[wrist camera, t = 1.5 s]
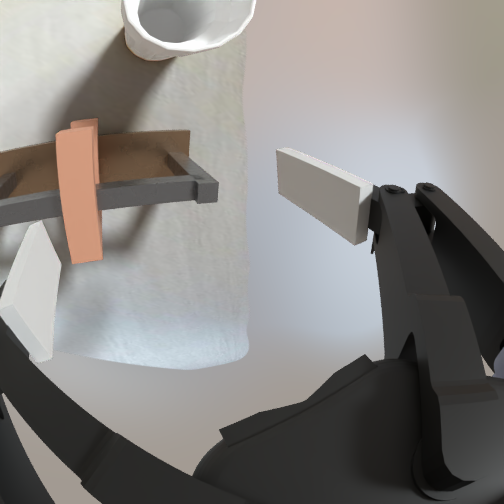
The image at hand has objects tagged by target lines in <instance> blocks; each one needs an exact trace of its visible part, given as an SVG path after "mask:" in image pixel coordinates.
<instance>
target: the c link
mask: <svg viewBox="0 0 504 504" xmlns="http://www.w3.org/2000/svg"><path fill="white" fill-rule="evenodd" d="M56 154H57V168H58V179H59V188H60V197H61V204H62V211H63V218H64V224H65V230H66V236H67V241H68V246H69V251H70V256H71V260H72V264H76V263H83V262H90V261H96V260H103V250H102V210H100V211H98V207H97V196H96V184H98V183H100V180H99V160H98V118H92V119H84V120H76V121H73V122H71V129H68V130H61V131H59V132H58V133H57V134H56Z"/></svg>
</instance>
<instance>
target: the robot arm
mask: <svg viewBox="0 0 504 504" xmlns="http://www.w3.org/2000/svg"><path fill="white" fill-rule="evenodd" d="M276 155H277V172H278V191H279V194H280V195H282V196H284V197H285V198H287V199H288V200H290V201H291V202H293V203H294V204H296V205H297V206H299V207H300V208H302V209H303V210H305V211H306V212H307V213H309V214H310V215H312V216H313V217H315V218H316V219H318V220H319V221H321V222H322V223H323V224H325V225H326V226H328V227H329V228H331V229H332V230H333V231H335V232H336V233H338V234H339V235H341V236H342V237H343V238H345V239H346V240H348V241H349V242H350V243H352V244H353V245H357V244H359V243H362V242H364V241H366V240H367V234H368V228H369V229H371V230H372V231H374V236H373V243H372V249H371V254H373V252H374V251H375V255H376V263H377V270H378V278H379V287H380V297H381V307H382V317H383V318H382V319H383V331H384V348H385V358H384V360H379V361H374V362H372V361H371V360H370V359H369V358H368V357H367V356H366V355H365V354H364V355H363V356H361V357H360V358H358V359H356V360H355V361H353V362H352V363H350V364H348V365H347V366H345V367H343V368H342V369H340V370H338V371H337V372H335V373H334V374H333V375H332V376H331V377H330V378H329V379H328V380H327V381H326V382H325V383H324V384H323V385H322V386H321V387H320V388H319V389H318V390H317V391H316V392H315V393H314V394H312V395H311V396H310V397H309V398H308V399H307V400H305V401H303V402H300V403H297V404H293V405H289V406H285V407H281V408H277V409H272V410H268V411H263V412H259V413H257V414H254V415H252V416H250V417H248V418H245V419H243V420H241V421H238V422H236V423H234V424H231V425H229V426H227V427H224V428H222V429H219V431H220V433H221V435H222V437H223V440H221V441H220V442H219V443H217V444H216V445H215V446H214V447H213V448H212V449H210V450H209V451H208V452H207V453H206V455H205V456H204V457H203V458H202V459H201V461H200V462H199V464H198V466H197V467H196V469H195V471H194V473H193V476H190V475H188V474H186V473H184V472H182V471H180V470H178V469H176V468H174V467H173V466H171V465H169V464H167V463H165V462H164V461H162V460H160V459H158V458H157V457H155V456H153V455H151V454H150V453H148V452H146V451H145V450H143V449H141V448H140V447H138V446H137V445H135V444H133V443H132V442H130V441H129V440H127V439H126V438H124V437H123V436H121V435H120V434H118V433H115V432H113V431H112V430H110V429H109V428H108V427H106V426H105V425H104V424H102V423H101V422H99V421H98V420H97V419H95V418H94V417H93V416H92V415H90V414H89V413H88V412H86V411H85V410H84V409H83V408H82V407H80V406H79V405H78V404H77V403H75V402H74V401H73V400H72V399H71V398H70V397H68V396H67V395H66V394H65V393H63V391H62V390H60V389H59V388H58V387H57V386H56V385H55V384H54V383H53V382H52V381H50V380H49V379H48V378H47V377H46V376H45V375H44V374H43V373H42V372H41V371H40V370H39V369H38V368H37V367H36V366H35V365H34V364H33V363H32V362H31V361H30V360H29V354H30V355H31V356H32V358H33V359H34V360H35V361H36V362H37V363H41V362H44V361H47V360H50V359H52V358H53V337H54V322H55V311H56V301H57V293H58V285H59V278H60V271H61V265H62V264H61V262H60V260H59V258H58V256H57V254H56V252H55V250H54V247H53V245H52V243H51V241H50V238H49V236H48V234H47V231H46V229H45V227H44V224H43V222H42V220H41V221H38V222H36V223H34V224H31V225H30V226H29V228H28V230H27V232H26V234H25V237H24V239H23V241H22V243H21V246H20V248H19V250H18V253H17V255H16V258H15V260H14V262H13V265H12V268H11V270H10V273H9V276H8V278H7V280H5V282H4V283H3V284H2V286H1V287H0V504H55V503H54V501H53V500H52V498H51V496H50V495H49V493H48V492H47V490H46V489H45V487H44V485H43V483H42V482H41V480H40V478H39V477H38V475H37V473H36V471H35V469H34V468H33V466H32V464H31V462H30V460H29V458H28V456H27V454H26V452H25V450H24V448H23V446H22V444H21V442H20V439H19V437H18V435H17V433H16V430H15V428H14V426H13V423H12V421H11V419H10V416H9V413H8V411H7V408H6V405H5V403H4V400H3V397H2V393H4V394H5V395H6V397H7V398H8V399H9V401H10V402H11V403H12V405H13V406H14V407H15V409H16V410H17V411H18V413H19V414H20V415H21V416H22V417H23V419H24V420H25V421H26V423H27V424H28V425H29V426H30V427H31V428H32V430H33V431H34V432H35V433H36V434H37V435H38V437H39V438H40V439H41V440H42V441H43V442H44V443H45V444H46V445H47V446H48V447H49V449H51V451H52V452H54V454H55V455H56V456H57V457H58V458H59V459H60V460H61V461H62V462H63V463H64V464H65V465H67V467H69V468H70V469H71V470H72V471H73V472H74V473H75V474H76V475H77V476H78V477H79V478H80V479H81V480H82V482H81V485H82V486H83V488H85V489H86V490H87V491H88V492H89V493H90V494H91V495H92V496H93V497H95V498H96V499H97V500H98V501H100V502H101V503H102V504H504V251H503V250H502V249H501V248H500V247H499V245H498V244H497V243H496V242H495V241H494V240H493V239H492V238H491V237H490V236H489V235H488V234H487V233H486V232H485V231H484V230H483V229H482V228H481V227H480V226H479V225H478V224H477V223H476V222H475V221H474V220H473V219H472V218H471V217H470V216H469V215H468V214H467V213H466V212H465V211H464V210H463V209H462V208H461V207H460V206H459V205H458V204H457V203H455V202H454V201H453V200H452V199H451V198H450V197H449V196H448V195H447V194H445V193H444V192H443V191H442V190H441V189H440V188H438V187H437V186H434V185H433V184H431V183H418V184H417V185H416V191H415V193H411V194H408V193H407V191H406V190H405V189H404V188H401V187H398V186H396V185H384V186H381V187H380V188H379V187H377V186H375V185H373V184H372V183H370V182H368V181H366V180H364V179H362V178H359V177H357V176H355V175H353V174H351V173H349V172H346V171H344V170H342V169H339V168H337V167H335V166H333V165H330V164H328V163H325V162H323V161H321V160H319V159H316V158H313V157H311V156H309V155H306V154H304V153H301V152H299V151H296V150H294V149H291V148H288V147H286V148H281V149H276ZM435 221H436V227H435V230H434V225H435ZM481 355H482V357H483V358H484V360H485V361H486V363H487V364H488V366H489V367H490V368H491V369H492V371H493V372H494V375H493V376H492V377H491V376H486V374H485V370H484V365H483V361H482V357H481Z"/></svg>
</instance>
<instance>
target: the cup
mask: <svg viewBox="0 0 504 504" xmlns="http://www.w3.org/2000/svg"><path fill="white" fill-rule="evenodd" d="M255 3H256V0H122V2H121V13H122V18H123V22H124V27H125V34H124V36H125V41H126V45H127V47H128V48H129V50H130V51H131V52H132V53H133V54H134V55H136V56H138V57H139V58H141V59H144V60H146V61H161V60H165V59H169V58H172V57H174V56H179V57H182V56H186V55H191V54H195V53H199V52H204V51H207V50H211V49H215V48H219V47H221V46H222V45H224V44H225V43H227V42H228V41H230V40H231V39H233V38H235V37H236V36H238V35H240V33H241V32H242V31H243V29H244V28H245V27H246V25H247V24H248V23H249V21H250V20H251V18H252V17H253V13H254V8H255Z"/></svg>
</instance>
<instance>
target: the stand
mask: <svg viewBox="0 0 504 504" xmlns="http://www.w3.org/2000/svg"><path fill="white" fill-rule="evenodd" d="M189 142H190V130H160V131H141V132H126V133H114V134H104V135H98V160H99V180H100V183H98V184H96V196H97V207H98V211H100V210H107V209H115V208H123V207H132V206H140V205H150V204H159V203H169V202H180V201H191V200H195V201H196V202H197V204H201V203H213V202H217V200H218V186H219V182H218V181H216V180H215V179H214V178H213V177H212V176H210V175H209V174H208V173H207V172H206V171H204V170H203V169H202V168H201V167H200V166H198V165H197V164H196V163H195V162H194V161H192V160H191V159H190V158H189ZM58 216H63V211H62V204H61V197H60V188H59V179H58V168H57V154H56V141H52V142H46V143H40V144H35V145H30V146H25V147H20V148H15V149H11V150H6V151H2V152H0V227H2V226H7V225H12V224H17V223H23V222H29V221H34V220H40V219H46V218H52V217H58Z"/></svg>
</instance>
